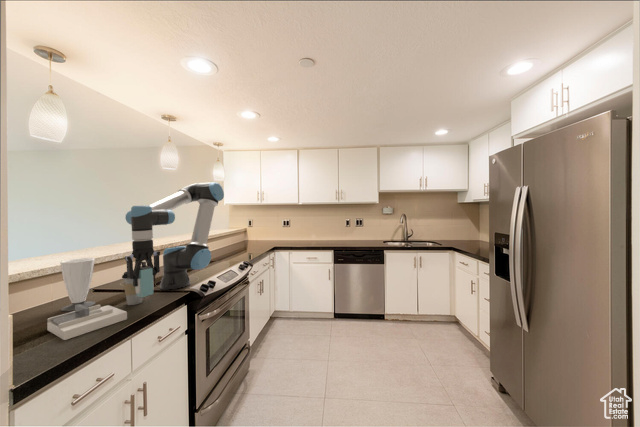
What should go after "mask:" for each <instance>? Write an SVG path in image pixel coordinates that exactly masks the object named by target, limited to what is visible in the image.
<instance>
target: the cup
mask: <svg viewBox="0 0 640 427" xmlns="http://www.w3.org/2000/svg"><path fill="white" fill-rule="evenodd" d="M95 260H96V259H95V257H81V258H72V259H71V258H70V259H65V260H62V261H60V264H59V265H60V268H61V269H60V270H61V274H62V278H63V283H64V286H65V290H66V293H67V296H68V298H69V301H70V302H71V304H68V305H66V306H63V307H62V308H61V309H60V311H61V312H73V311H75V305H77V304H81V305H83V306H86V307H92V306H95V305H96V301H92V300H91V301H90V300H89V301H86V300H87V297H88V296H89V294H88V293H89V291H90V288H91V283H92V278H93V274H94V266H95Z"/></svg>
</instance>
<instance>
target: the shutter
mask: <svg viewBox="0 0 640 427" xmlns="http://www.w3.org/2000/svg"><path fill="white" fill-rule="evenodd" d="M85 316H89V308H88V307H86V306H83V305H81V304H77V305H75V313H72V314H68V315H65V316H61V317H58V318H54V319H52V322H54V323H56V324H57V325H58V324H61V323H65V322H68V321H71V320H75V319H78V318H82V317H85Z"/></svg>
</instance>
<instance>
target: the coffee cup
mask: <svg viewBox="0 0 640 427" xmlns="http://www.w3.org/2000/svg"><path fill="white" fill-rule="evenodd" d="M133 271H134V269H133ZM121 279H122V280H123V286H124V287H123V288H124V294H125V299H126V305H127V306H134V305H139V304H142V303H143V299H144V297H139V296H137V293H136V289H135V286H133V279H129V278H127V271H125V272H124V273H123V274H122V276H121Z"/></svg>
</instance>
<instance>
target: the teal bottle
mask: <svg viewBox="0 0 640 427" xmlns="http://www.w3.org/2000/svg"><path fill="white" fill-rule="evenodd" d="M138 278H139V279H140V286H141V293H140V294H138V293H137V296H139V297H143V298H145V297H149V296H152V295H154V290H153V272H152V268H151V267H150V266H148V265H147V263H146V261H142V263H141V267H140V272H139V276H138Z"/></svg>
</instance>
